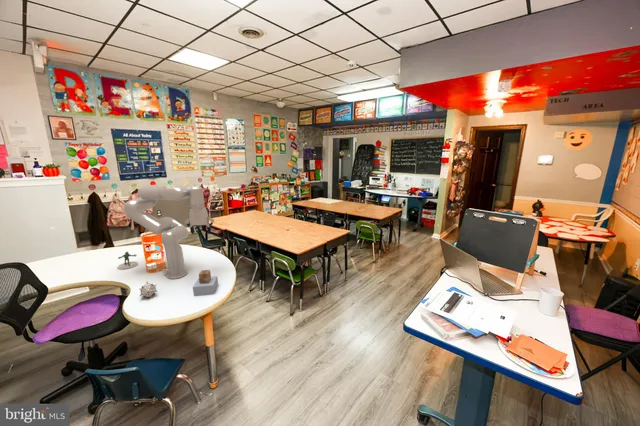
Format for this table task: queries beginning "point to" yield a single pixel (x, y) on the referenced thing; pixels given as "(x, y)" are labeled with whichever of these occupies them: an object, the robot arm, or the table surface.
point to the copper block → (204, 276)
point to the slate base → (205, 287)
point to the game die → (148, 290)
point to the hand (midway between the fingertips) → (201, 233)
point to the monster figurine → (127, 264)
